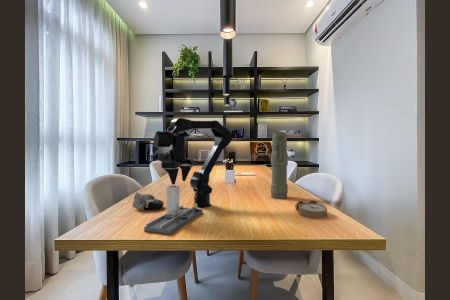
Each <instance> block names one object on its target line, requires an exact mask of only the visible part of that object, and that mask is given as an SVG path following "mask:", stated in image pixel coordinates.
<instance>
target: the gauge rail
mask: <svg viewBox="0 0 450 300" xmlns="http://www.w3.org/2000/svg"><path fill="white" fill-rule="evenodd" d="M193 204H194V203H193ZM179 210H186V215H185V216H184V215H183V214H180V215H178V216H176V217H174V218H167V217H165V213H164V214H162V215H160V216H158V217H157V218H155V219H153V220H151V221H148V222H146V223H145V226H144V229H143V230H144V232H147V233H153V234H162V235H169V236H171V235H172V234H174V233H176V232H177V231H178V230H180V229H181V228H183V227H184V226H185V225H187V224H189V223H191V222H192V221H193V220H194V219H196V218H197V217H199V216H200V215H202V214H203V212H204V211H203V209H202V208H201V209H200V208H198V207H197V203H195V204H194V205H193V206H192V207H184V205H179Z"/></svg>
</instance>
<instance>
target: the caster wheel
mask: <svg viewBox="0 0 450 300" xmlns="http://www.w3.org/2000/svg"><path fill="white" fill-rule="evenodd" d="M131 206H132V208H134V209H136V210H139V211H141V212H144V209H146V208H147V209H152V210H162V209H163V208H164V201H162V200H161V199H157V198H155V196H154V195H153V194H151V193H139V192H135V194H134V198H133V201H132V205H131Z"/></svg>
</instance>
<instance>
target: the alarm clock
mask: <svg viewBox="0 0 450 300" xmlns="http://www.w3.org/2000/svg"><path fill="white" fill-rule="evenodd" d="M294 207H295V210H296V211H297V214H298V215H299V216H301V217H303V218H307V219H313V220H314V219H315V220H316V219H317V220H319V219H325V218H327V217H328V216H329V214H328V207H327V206H325V205H323V204H320V203H318V202H317V201H315V200H309V201H308V202H307V201H303V200H299V201H297V202H296V203H295V205H294Z"/></svg>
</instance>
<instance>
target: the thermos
mask: <svg viewBox="0 0 450 300" xmlns="http://www.w3.org/2000/svg"><path fill="white" fill-rule="evenodd" d="M271 138H272V139H271V142H272V143H271V144H272V145H271V147H272V149H271V154H270V166H271V184H270V198H271V199H274V200H286V199H288V193H289V192H288V191H289V190H288V183H287V182H288V181H287V180H288V177H287V176H288V174H287V173H288V163H289V158H288V157H289V155H288V152H287V151H288V149H287V147H288V140H287V139H288V137H287V134H286V133H285V132H284V131H276V132H275V131H274V133H273V134H272V137H271Z"/></svg>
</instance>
